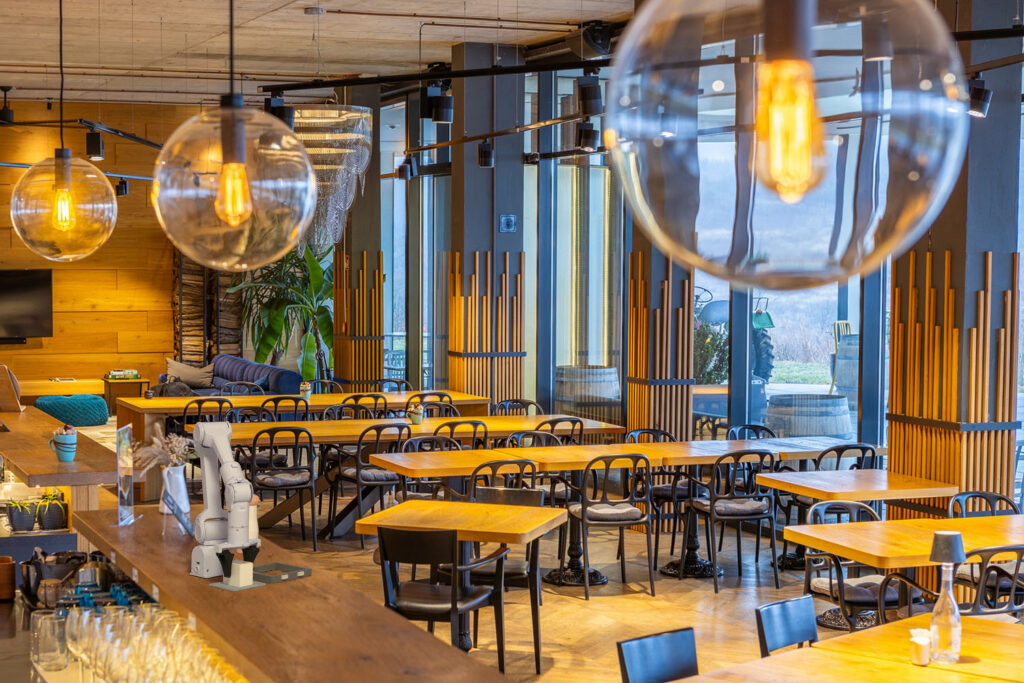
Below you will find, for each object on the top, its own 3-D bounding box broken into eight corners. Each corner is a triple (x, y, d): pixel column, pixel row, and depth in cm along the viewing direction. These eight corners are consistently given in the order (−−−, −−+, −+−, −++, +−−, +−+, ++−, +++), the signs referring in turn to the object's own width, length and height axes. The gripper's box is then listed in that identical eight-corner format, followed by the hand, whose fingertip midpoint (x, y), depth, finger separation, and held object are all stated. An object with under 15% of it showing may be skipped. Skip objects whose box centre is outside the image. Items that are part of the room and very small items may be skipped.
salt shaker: (256, 553, 362) (257, 493, 362) (233, 553, 362) (234, 493, 362) (261, 549, 369) (262, 490, 369) (239, 549, 369) (240, 490, 369)
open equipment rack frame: (272, 584, 318) (273, 577, 318) (236, 576, 328) (236, 569, 328) (313, 575, 330) (313, 569, 330) (277, 568, 340) (277, 561, 340)
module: (239, 587, 312) (239, 564, 312) (223, 583, 316) (223, 561, 316) (252, 584, 316) (252, 562, 316) (236, 580, 320) (236, 558, 320)
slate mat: (234, 591, 308) (234, 590, 308) (208, 585, 315) (208, 584, 315) (265, 585, 317) (265, 583, 317) (240, 579, 324) (240, 577, 324)
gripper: (226, 531, 308) (225, 581, 308) (268, 524, 319) (267, 573, 319) (210, 528, 312) (209, 577, 312) (251, 521, 324) (250, 569, 324)
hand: (237, 575), depth 316 cm, fingers open, 6 cm apart
